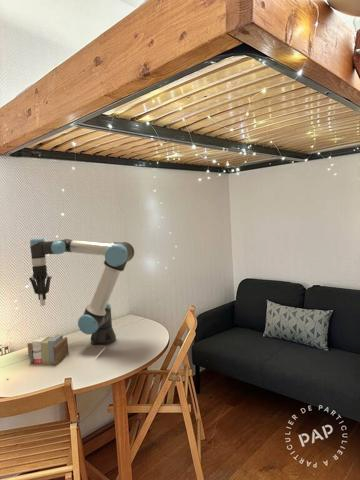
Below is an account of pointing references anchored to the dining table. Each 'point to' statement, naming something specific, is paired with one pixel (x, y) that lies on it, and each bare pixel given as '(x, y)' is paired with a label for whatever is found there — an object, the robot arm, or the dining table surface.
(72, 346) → the dining table surface
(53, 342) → the book
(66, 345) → the shelf
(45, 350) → the book
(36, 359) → the ink box
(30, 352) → the bookend
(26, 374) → the dining table surface
